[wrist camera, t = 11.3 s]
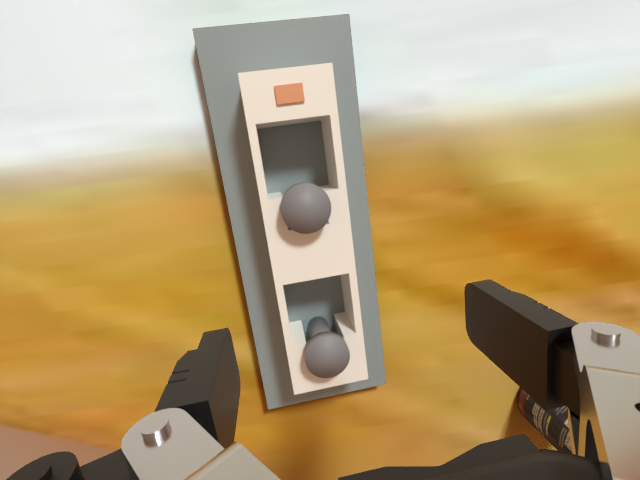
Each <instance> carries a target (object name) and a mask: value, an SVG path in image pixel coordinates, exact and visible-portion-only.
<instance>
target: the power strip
mask: <svg viewBox="0 0 640 480" xmlns="http://www.w3.org/2000/svg"><path fill="white" fill-rule="evenodd" d="M238 78H239V83H240V89H241V95H242V101H243V106H244V112H245V118H246V123H247V129H248V135H249V140H250V146H251V152H252V158H253V163H254V169H255V175H256V180H257V186H258V192H259V197H260V203H261V209H262V214H263V220H264V226H265V232H266V237H267V243H268V249H269V254H270V260H271V266H272V271H273V277H274V283H275V289H276V294H277V300H278V306H279V311H280V317H281V323H282V328H283V334H284V340H285V346H286V351H287V357H288V363H289V368H290V374H291V380H292V385H293V391H294V395H296V394H301V393H306V392H310V391H315V390H320V389H324V388H329V387H333V386H338V385H343V384H347V383H352V382H357V381H361V380H366V379H368V371H367V362H366V353H365V345H364V336H363V327H362V318H361V310H360V301H359V292H358V283H357V274H356V266H355V257H354V248H353V239H352V230H351V222H350V213H349V204H348V195H347V187H346V178H345V169H344V160H343V151H342V143H341V134H340V125H339V116H338V107H337V99H336V90H335V81H334V72H333V64H332V63H324V64H315V65H306V66H296V67H287V68H278V69H269V70H260V71H251V72H242V73H238ZM314 121H321V124H322V132H323V140H324V148H325V156H326V164H327V172H328V180H329V185H323V186H319V187H320V188H322V189H323V190H324V191H325V192H326V193H327V195H328V197H329V199H330V202H331V215H330V218H329V220H328V222H327V223H326V225H325V226H324V227H323V228H321V229H320V230H318V231H317V232H314V233H310V234H302V233H298V232H295V231H293V230H292V229H290V228H289V227H288V226H287V225H286V223H285V222H284V220H283V218H282V215H281V210H280V204H281V199H282V197H283V196H282V194H281V192H276V193H270V194H268V191H267V185H266V179H265V174H264V168H263V162H262V156H261V150H260V144H259V138H258V132H257V129H260V128H267V127H275V126H283V125H291V124H299V123H306V122H314ZM336 275H341V283H342V291H343V299H344V307H345V312H341V313H336V314H334V318H335V326H336V333H337V334H339V335H340V336H341V337H342V338H343V339H344V340H345V342H346V344H347V346H348V349H349V352H350V360H349V363H348V365H347V367H346V368H345V370H344V371H343V372H341V373H340V374H339V375H337V376H334V377H331V378H320V377H317V376H315V375H313V374H312V373H311V372H310V371H309V370H308V369H307V367H306V363H305V358H304V348H305V345H306V340H305V335H304V331H303V326H302V322H301V320H299V321H294V322H290V321H289V315H288V309H287V304H286V298H285V292H284V286H283V285H286V284H292V283H297V282H303V281H309V280H314V279H320V278H325V277H331V276H336Z"/></svg>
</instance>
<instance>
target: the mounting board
mask: <svg viewBox="0 0 640 480" xmlns="http://www.w3.org/2000/svg"><path fill="white" fill-rule="evenodd" d="M193 34H194V39H195V44H196V49H197V54H198V59H199V64H200V69H201V74H202V79H203V84H204V89H205V94H206V99H207V104H208V109H209V114H210V119H211V124H212V129H213V135H214V140H215V145H216V150H217V155H218V160H219V165H220V170H221V175H222V180H223V185H224V190H225V195H226V200H227V205H228V210H229V215H230V220H231V225H232V230H233V235H234V240H235V245H236V250H237V255H238V260H239V265H240V271H241V276H242V281H243V286H244V291H245V296H246V301H247V306H248V311H249V316H250V321H251V326H252V331H253V336H254V341H255V346H256V351H257V356H258V361H259V366H260V371H261V376H262V381H263V386H264V391H265V396H266V401H267V407H268V410H269V409H274V408H278V407H283V406H287V405H292V404H297V403H301V402H306V401H310V400H315V399H319V398H324V397H329V396H333V395H338V394H342V393H347V392H352V391H356V390H361V389H365V388H370V387H375V386H379V385H384V384H386V378H385V368H384V358H383V348H382V338H381V328H380V318H379V308H378V298H377V288H376V278H375V268H374V258H373V248H372V238H371V228H370V218H369V208H368V198H367V188H366V178H365V168H364V158H363V148H362V138H361V128H360V117H359V107H358V97H357V87H356V77H355V67H354V57H353V47H352V37H351V27H350V17H349V14H343V15H333V16H322V17H311V18H301V19H290V20H279V21H269V22H258V23H247V24H237V25H226V26H215V27H204V28H194V29H193ZM324 63H332V64H333V72H334V81H335V90H336V99H337V107H338V116H339V125H340V134H341V143H342V151H343V160H344V169H345V178H346V187H347V195H348V204H349V213H350V222H351V230H352V239H353V248H354V257H355V266H356V274H357V283H358V292H359V301H360V310H361V318H362V327H363V336H364V345H365V353H366V362H367V371H368V379H366V380H361V381H357V382H352V383H347V384H343V385H338V386H333V387H329V388H324V389H320V390H315V391H310V392H306V393H301V394H296V395H294V391H293V385H292V380H291V374H290V368H289V363H288V357H287V351H286V346H285V340H284V334H283V328H282V323H281V317H280V311H279V306H278V300H277V294H276V289H275V283H274V277H273V271H272V266H271V260H270V254H269V249H268V243H267V237H266V232H265V226H264V220H263V214H262V209H261V203H260V197H259V192H258V186H257V180H256V175H255V169H254V163H253V158H252V152H251V146H250V140H249V135H248V129H247V123H246V118H245V112H244V106H243V101H242V95H241V89H240V83H239V78H238V73H242V72H251V71H260V70H269V69H278V68H287V67H296V66H306V65H315V64H324ZM257 132H258V138H259V144H260V150H261V156H262V162H263V168H264V174H265V179H266V185H267V191H268V194H270V193H276V192H281V194H282V196H283V197H282V199H281V204H280V210H281V215H282V218H283V220H284V222H285V223H286V225H287V226H288V227H289V228H290V229H292V230H293V231H295V232H298V233H302V234H310V233H314V232H317V231H318V230H320V229H321V228H323V227H324V226H325V225H326V223H327V222H328V220H329V218H330V215H331V202H330V199H329V197H328V195H327V193H326V192H325V191H324V190H323V189H322V188H320V187H319V186H323V185H329V180H328V172H327V164H326V156H325V148H324V140H323V132H322V124H321V121H314V122H306V123H299V124H291V125H283V126H275V127H267V128H260V129H257ZM283 286H284V292H285V298H286V304H287V309H288V315H289V321H290V322H294V321H299V320H301V322H302V326H303V331H304V335H305V340H306V345H305V348H304V358H305V363H306V367H307V369H308V370H309V371H310V372H311V373H312V374H313V375H315V376H317V377H320V378H331V377H334V376H337V375H339V374H340V373H341V372H343V371H344V370H345V368H346V367H347V365H348V363H349V360H350V352H349V349H348V346H347V344H346V342H345V340H344V339H343V338H342V337H341V336H340V335H339V334H337V333H336V326H335V318H334V314H336V313H341V312H345V307H344V299H343V291H342V283H341V275H336V276H331V277H325V278H320V279H314V280H309V281H303V282H297V283H292V284H286V285H283Z"/></svg>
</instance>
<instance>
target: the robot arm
mask: <svg viewBox="0 0 640 480" xmlns="http://www.w3.org/2000/svg"><path fill="white" fill-rule="evenodd" d="M465 315H466V330H467V333H468V336H469V338H470V340H471V342H472V343H473V344H474V345H475V346H476V347H477V348H478V349H479V350H480V351H481V352H483V353H484V354H485V355H486V356H487V357H488V358H489V359H490V360H491V361H492V362H494V363H495V364H496V365H497V366H498V367H499V368H500V369H501V370H502V371H503V372H504V373H506V374H507V375H508V376H509V377H510V378H511V379H512V380H513V381H514V382H515V383H517V384H518V385H519V386H520V387H521V388H522V389H523V390H524V391H525V392H526V393H527V394H529V395H530V396H531V397H532V398H533V399H534V400H535V401H536V402H537V403H538V404H540V405H541V406H542V407H543V408H544V409H545V410H550V409H554V408H559V407H563V406H567V407H568V425H569V432H570V440H571V447H572V454H571V453H567V452H562V451H556V450H546V449H538V448H537V447H536V446H535V445H534V444H533V443H532V442H531V441H530V440H529V439H528V437H527V436H526V435H525V434H521V435H517V436H513V437H509V438H505V439H500V440H496V441H492V442H488V443H483V444H480V445H478V446H476V447H474V448H473V449H471V450H469V451H467V452H465V453H464V454H462V455H460V456H458V457H456V458H454V459H453V460H451V461H449V462H447V463H445V464H443V465H441V466H434V467H382V468H378V469H374V470H370V471H365V472H361V473H357V474H353V475H349V476H344V477H340V478H338V480H640V336H639V335H638V334H636V333H635V332H633V331H631V330H629V329H626V328H624V327H621V326H618V325H614V324H609V323H602V322H584V323H580V324H578V323H576V322H575V321H573V320H571V319H569V318H567V317H565V316H563V315H561V314H560V313H558V312H556V311H554V310H552V309H548V307H547V306H545V305H543V304H541V303H538V302H537V301H535V300H534V299H532V298H530V297H528V296H526V295H524V294H520V293H517V292H513V291H510V290H509V289H507V288H505V287H503V286H501V285H500V284H498V283H496V282H494V281H492V280H484V281H478V282H473V283H468V284H467V285H466V286H465ZM239 397H240V376H239V370H238V365H237V361H236V356H235V352H234V347H233V343H232V338H231V334H230V331H229V329H228V328H224V329H219V330H214V331H208V332H204V333H203V336H202V338H201V341H200V344H199V346H198V349H196V350H191V351H188V352H187V353H186V354H185V355H184V356H183V357H182V358H181V359H179V360H178V361H177V363H176V365H175V368H174V370H173V372H172V375H171V376H170V379H169V381H168V384H167V385H166V387H165V390H164V392H163V394H162V396H161V398H160V401H159V403H158V405H157V407H156V409H155V412H154V413H152V414H150V415H148V416H146V417H144V418H143V419H141V420H140V421H138V422H137V423H136V424H134V425H133V426H132V427H131V428H130V429H129V430H128V432H127V433H126V434H125V436H124V438H123V440H122V443H121V449H119V450H117V451H115V452H113V453H111V454H109V455H106V456H104V457H102V458H99V459H97V460H94V461H92V462H90V463H88V464H85V465H83V466H81V467H80V466H79V463H78V460H77V458H76V456H75V455H74V454H73V453H71V452H56V453H52V454H49V455H46V456H43V457H41V458H39V459H37V460H35V461H32V462H31V463H29V464H27V465H25V466H24V467H22V468H21V469H19V470H18V471H16V472H15V473H14V474H12V475H11V476H10V477H9V478H8V479H6V480H280V479H279V478H278V477H277V476H276V475H275V474H274V473H273V472H271V471H270V470H269V469H268V468H267V467H266V466H265V465H264V464H262V463H261V462H260V461H259V460H258V459H257V458H256V457H255V456H254V455H252V454H251V453H250V452H249V451H248V450H247V449H246V448H245V447H243V446H242V445H241V444H240V443H238V442H234V437H235V429H236V421H237V413H238V405H239Z"/></svg>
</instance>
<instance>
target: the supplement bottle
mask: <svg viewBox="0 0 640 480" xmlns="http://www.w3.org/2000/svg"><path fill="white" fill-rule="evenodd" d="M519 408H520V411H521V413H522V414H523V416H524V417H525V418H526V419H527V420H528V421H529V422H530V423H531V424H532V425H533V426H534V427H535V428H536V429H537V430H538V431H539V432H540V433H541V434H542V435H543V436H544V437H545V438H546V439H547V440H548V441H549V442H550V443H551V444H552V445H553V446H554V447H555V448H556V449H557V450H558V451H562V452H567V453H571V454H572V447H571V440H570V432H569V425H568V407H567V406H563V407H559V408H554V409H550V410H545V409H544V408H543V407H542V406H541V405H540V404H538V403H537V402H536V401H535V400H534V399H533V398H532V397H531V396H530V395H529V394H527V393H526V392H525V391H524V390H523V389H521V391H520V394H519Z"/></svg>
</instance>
